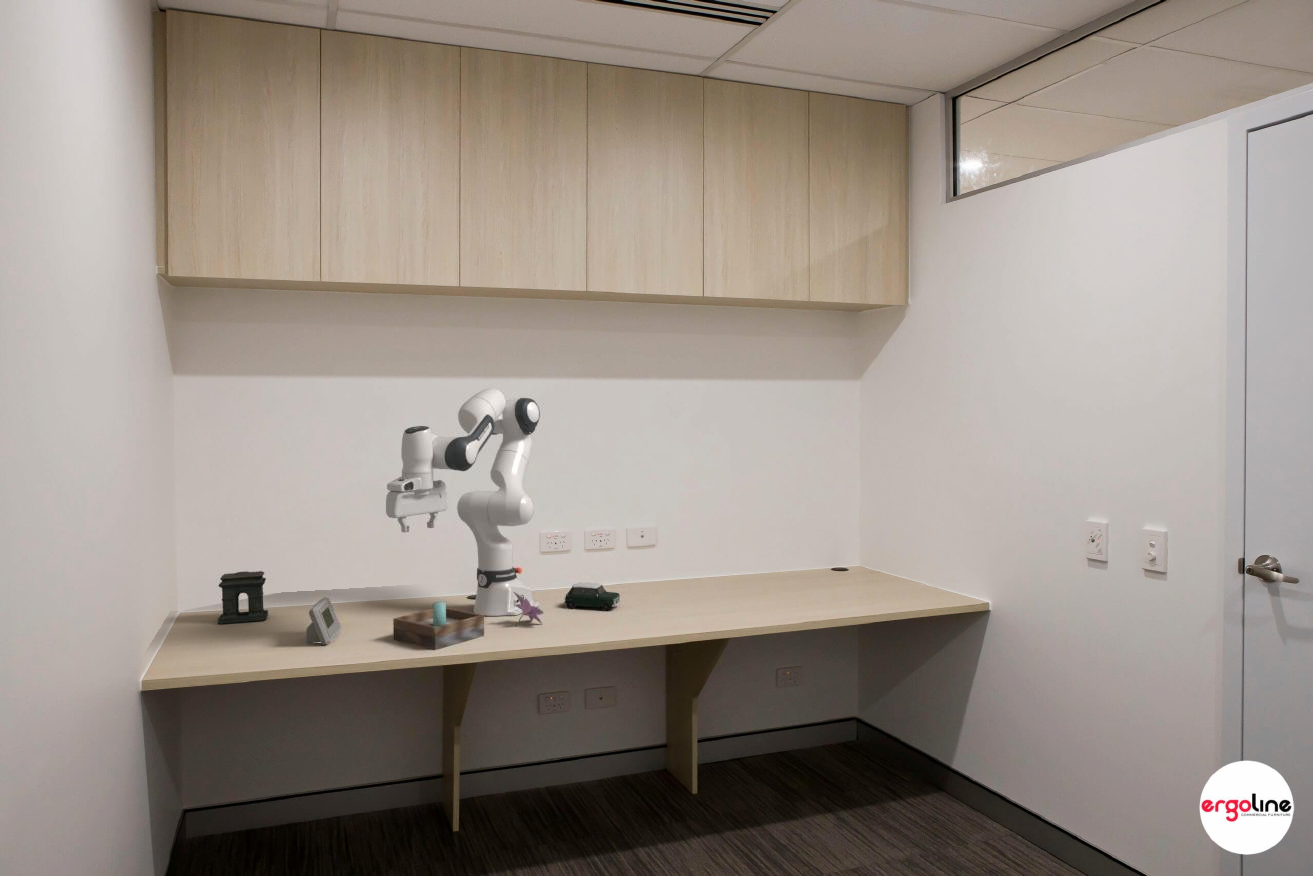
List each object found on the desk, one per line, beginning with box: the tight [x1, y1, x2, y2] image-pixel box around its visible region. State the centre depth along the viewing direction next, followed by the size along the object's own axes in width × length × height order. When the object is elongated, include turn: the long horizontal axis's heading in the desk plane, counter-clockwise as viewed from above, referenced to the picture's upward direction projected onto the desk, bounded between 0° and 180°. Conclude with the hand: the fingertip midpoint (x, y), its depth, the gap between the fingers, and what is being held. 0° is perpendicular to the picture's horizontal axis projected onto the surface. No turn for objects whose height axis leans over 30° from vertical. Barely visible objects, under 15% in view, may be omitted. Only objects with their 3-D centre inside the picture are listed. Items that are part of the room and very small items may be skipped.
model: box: [217, 570, 269, 625], centre depth 269 cm, size 14×9×15 cm, turn 112°
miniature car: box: [563, 582, 621, 612], centre depth 288 cm, size 9×18×8 cm, turn 76°
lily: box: [514, 592, 545, 628], centre depth 265 cm, size 12×12×10 cm
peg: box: [432, 601, 447, 627], centre depth 250 cm, size 4×4×10 cm
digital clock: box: [305, 596, 342, 646], centre depth 248 cm, size 16×9×11 cm, turn 177°
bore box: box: [392, 607, 485, 651], centre depth 250 cm, size 18×18×6 cm
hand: (418, 529), depth 252 cm, fingers open, 8 cm apart
